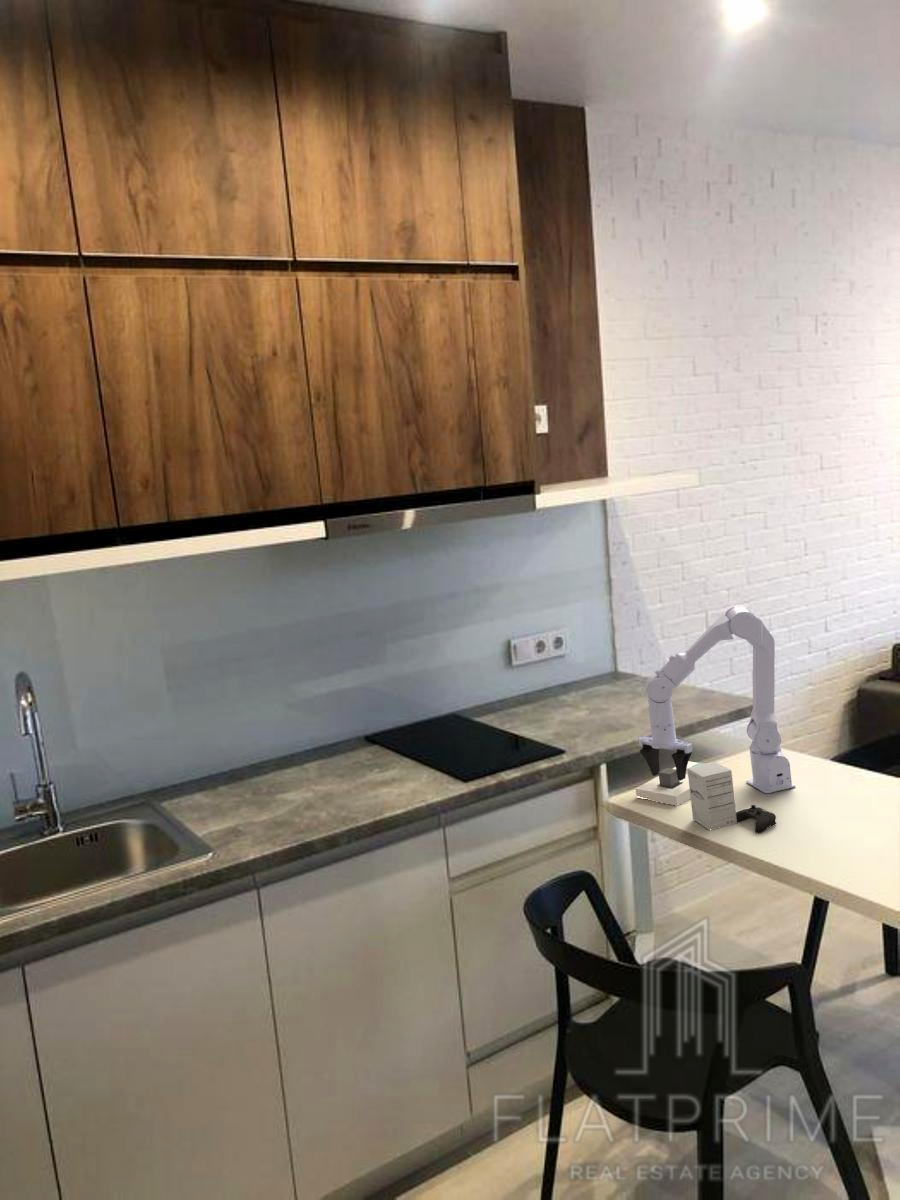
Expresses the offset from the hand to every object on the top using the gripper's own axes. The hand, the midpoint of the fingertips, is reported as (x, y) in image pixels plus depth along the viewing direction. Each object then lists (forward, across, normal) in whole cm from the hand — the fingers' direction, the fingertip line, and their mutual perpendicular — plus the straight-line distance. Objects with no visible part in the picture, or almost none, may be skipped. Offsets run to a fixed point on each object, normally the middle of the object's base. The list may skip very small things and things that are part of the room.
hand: (668, 776), depth 229 cm
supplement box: (+5, +19, -10) cm, 22 cm away
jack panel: (+4, 0, +5) cm, 7 cm away
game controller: (+5, +27, -7) cm, 29 cm away
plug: (+4, 0, 0) cm, 5 cm away
